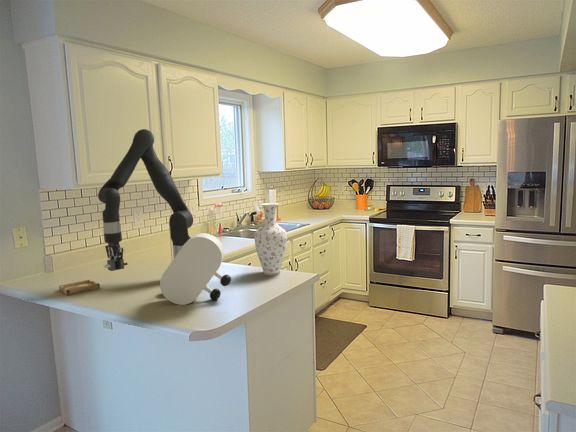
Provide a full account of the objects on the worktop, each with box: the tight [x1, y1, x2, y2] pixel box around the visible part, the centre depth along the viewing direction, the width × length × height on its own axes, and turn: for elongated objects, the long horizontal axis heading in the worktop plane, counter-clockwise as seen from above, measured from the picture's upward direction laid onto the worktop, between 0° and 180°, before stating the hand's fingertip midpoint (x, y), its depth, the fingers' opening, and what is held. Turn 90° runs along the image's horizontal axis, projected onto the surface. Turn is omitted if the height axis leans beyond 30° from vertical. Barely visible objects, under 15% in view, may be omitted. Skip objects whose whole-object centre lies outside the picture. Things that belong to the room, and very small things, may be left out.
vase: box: [254, 202, 288, 276], centre depth 220 cm, size 16×16×35 cm
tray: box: [58, 279, 101, 296], centre depth 203 cm, size 11×14×2 cm
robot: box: [159, 232, 232, 306], centre depth 181 cm, size 30×9×24 cm
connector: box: [103, 258, 128, 272], centre depth 204 cm, size 4×11×4 cm, turn 136°
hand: (116, 268), depth 205 cm, fingers closed on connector, 4 cm apart
